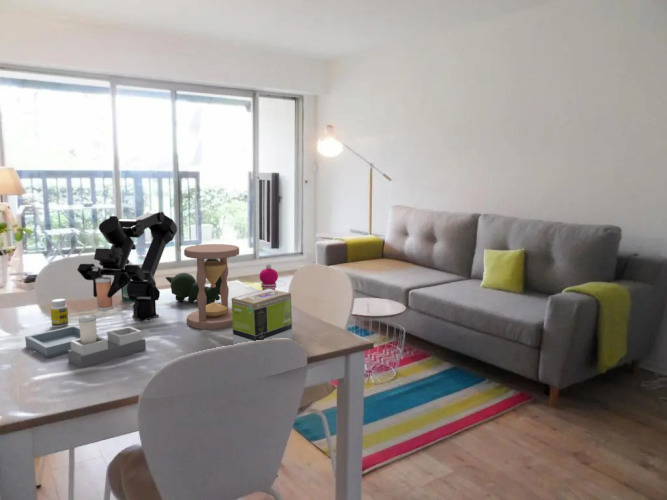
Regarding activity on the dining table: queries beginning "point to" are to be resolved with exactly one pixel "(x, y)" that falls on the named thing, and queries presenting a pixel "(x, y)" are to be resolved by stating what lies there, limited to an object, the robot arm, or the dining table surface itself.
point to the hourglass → (212, 270)
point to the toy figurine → (192, 287)
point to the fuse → (87, 329)
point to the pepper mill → (268, 278)
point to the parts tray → (53, 341)
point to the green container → (125, 295)
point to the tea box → (262, 316)
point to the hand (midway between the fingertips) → (101, 296)
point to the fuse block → (107, 347)
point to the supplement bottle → (59, 313)
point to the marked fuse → (103, 294)
